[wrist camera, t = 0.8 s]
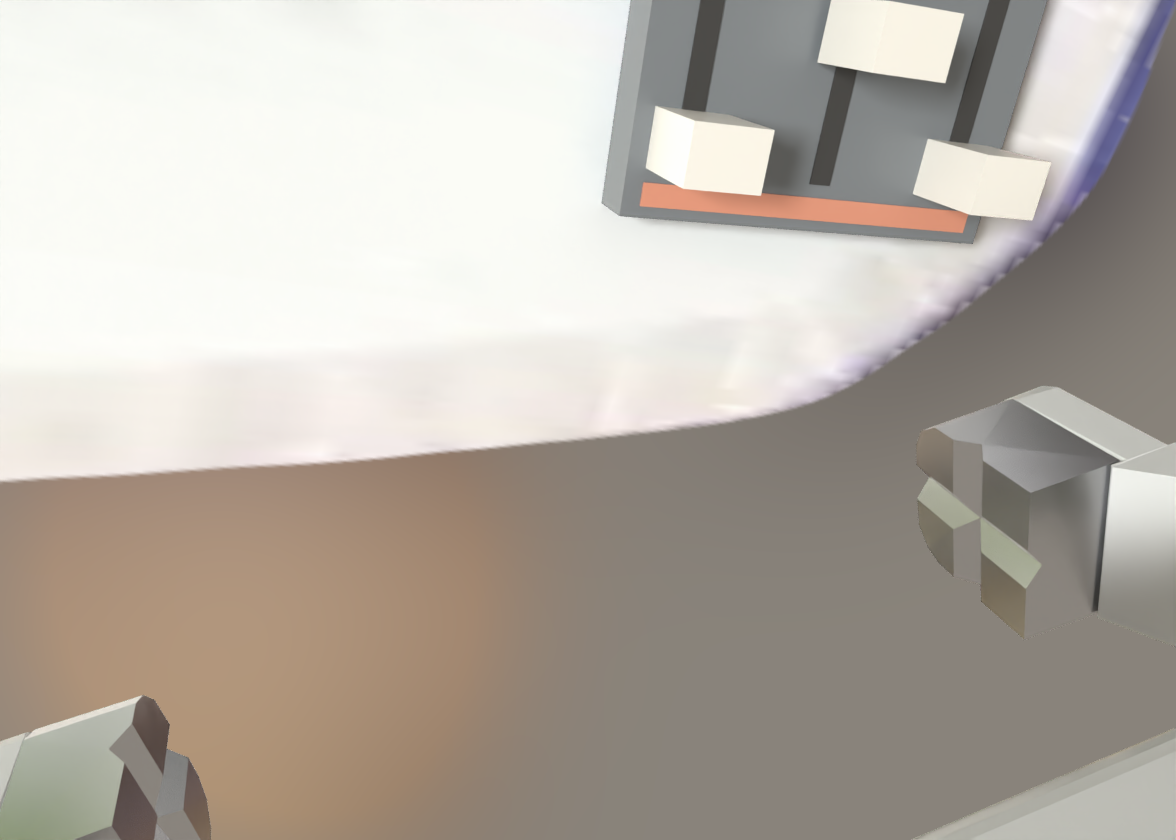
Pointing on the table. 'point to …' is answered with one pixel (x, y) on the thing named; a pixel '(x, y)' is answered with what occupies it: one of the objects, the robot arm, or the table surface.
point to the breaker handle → (890, 38)
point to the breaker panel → (817, 123)
